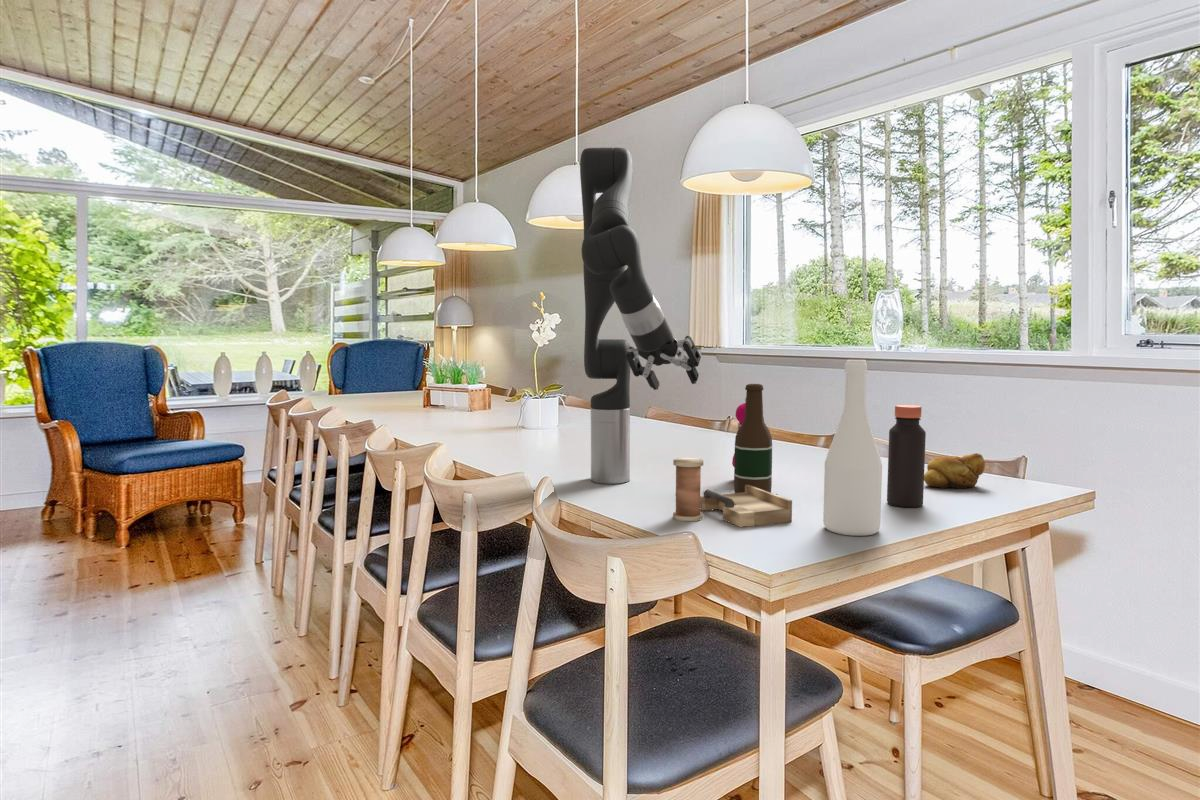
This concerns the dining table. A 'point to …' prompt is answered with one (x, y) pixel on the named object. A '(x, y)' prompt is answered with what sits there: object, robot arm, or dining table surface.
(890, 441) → the vinegar
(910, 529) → the dining table surface
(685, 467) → the bobbin
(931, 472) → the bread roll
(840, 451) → the wine bottle
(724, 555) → the dining table surface
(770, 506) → the wooden tray with handle
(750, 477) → the beer bottle
